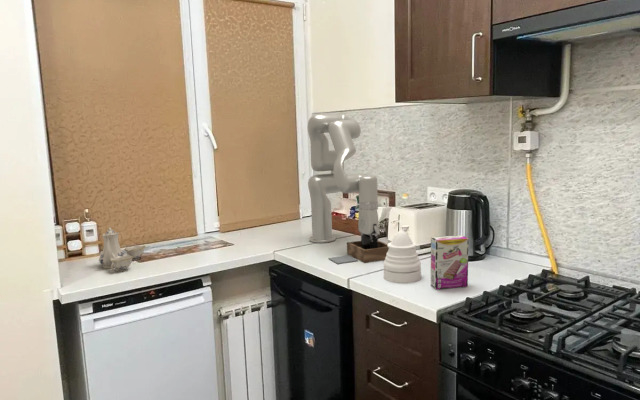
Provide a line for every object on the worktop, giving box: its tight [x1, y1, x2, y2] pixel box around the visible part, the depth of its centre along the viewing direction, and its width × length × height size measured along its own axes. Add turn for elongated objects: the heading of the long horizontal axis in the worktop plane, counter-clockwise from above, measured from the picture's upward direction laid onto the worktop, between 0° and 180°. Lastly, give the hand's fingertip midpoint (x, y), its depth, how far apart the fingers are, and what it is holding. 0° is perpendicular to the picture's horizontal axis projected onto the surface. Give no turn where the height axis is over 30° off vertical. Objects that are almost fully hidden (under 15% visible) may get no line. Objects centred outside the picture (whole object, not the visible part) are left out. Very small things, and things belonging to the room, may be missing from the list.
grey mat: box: [328, 254, 359, 265], centre depth 196 cm, size 9×9×1 cm
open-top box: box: [346, 240, 389, 264], centre depth 200 cm, size 16×13×5 cm
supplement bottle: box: [360, 232, 375, 250], centre depth 199 cm, size 7×7×12 cm
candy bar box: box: [430, 235, 470, 290], centre depth 157 cm, size 11×5×16 cm, turn 99°
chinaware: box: [98, 227, 146, 272], centre depth 201 cm, size 28×17×17 cm, turn 9°
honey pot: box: [383, 224, 422, 284], centre depth 169 cm, size 13×13×18 cm
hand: (369, 248), depth 200 cm, fingers closed on supplement bottle, 6 cm apart
